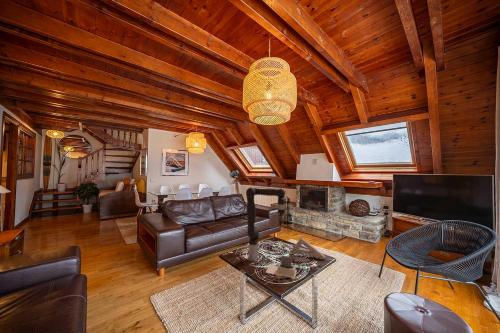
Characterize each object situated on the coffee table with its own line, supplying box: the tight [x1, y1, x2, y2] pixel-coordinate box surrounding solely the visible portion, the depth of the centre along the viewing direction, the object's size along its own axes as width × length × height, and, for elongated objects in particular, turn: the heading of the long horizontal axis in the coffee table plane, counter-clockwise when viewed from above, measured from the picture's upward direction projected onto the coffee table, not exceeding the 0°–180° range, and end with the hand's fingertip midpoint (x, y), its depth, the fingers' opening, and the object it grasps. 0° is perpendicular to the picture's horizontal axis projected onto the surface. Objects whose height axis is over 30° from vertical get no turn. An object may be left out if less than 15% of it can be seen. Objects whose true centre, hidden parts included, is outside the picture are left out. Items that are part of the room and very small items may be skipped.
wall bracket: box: [288, 236, 326, 260], centre depth 209 cm, size 22×4×30 cm
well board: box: [265, 262, 298, 280], centre depth 180 cm, size 26×14×6 cm, turn 69°
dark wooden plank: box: [280, 255, 293, 269], centre depth 178 cm, size 9×3×14 cm, turn 69°
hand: (281, 224), depth 200 cm, fingers open, 8 cm apart
